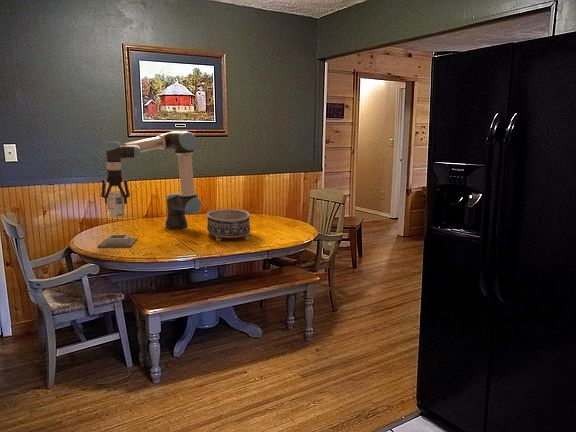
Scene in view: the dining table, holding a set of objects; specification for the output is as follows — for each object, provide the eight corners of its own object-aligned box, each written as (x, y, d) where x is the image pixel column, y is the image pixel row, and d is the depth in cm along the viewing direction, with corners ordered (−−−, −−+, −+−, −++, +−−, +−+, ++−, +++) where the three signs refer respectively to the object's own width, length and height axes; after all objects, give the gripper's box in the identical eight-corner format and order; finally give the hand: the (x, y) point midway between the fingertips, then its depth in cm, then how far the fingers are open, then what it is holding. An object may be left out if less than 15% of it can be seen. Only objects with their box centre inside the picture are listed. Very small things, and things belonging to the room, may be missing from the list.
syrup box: (115, 217, 251) (114, 192, 248) (109, 216, 254) (107, 191, 251) (124, 216, 256) (123, 191, 253) (117, 215, 259) (116, 190, 256)
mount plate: (137, 239, 268) (137, 233, 267) (130, 247, 250) (130, 240, 249) (106, 240, 266) (106, 233, 265) (97, 247, 248) (97, 240, 247)
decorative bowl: (258, 242, 266) (258, 218, 263) (214, 246, 257) (213, 220, 254) (240, 228, 305) (240, 206, 302) (201, 230, 296) (201, 208, 293)
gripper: (92, 169, 245) (95, 210, 249) (131, 170, 247) (133, 210, 252) (97, 168, 252) (99, 208, 257) (134, 169, 255) (136, 208, 259)
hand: (116, 209), depth 254 cm, fingers closed on syrup box, 8 cm apart
